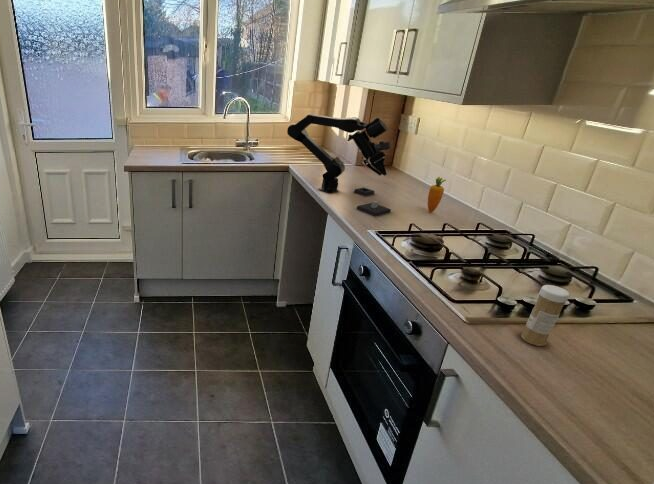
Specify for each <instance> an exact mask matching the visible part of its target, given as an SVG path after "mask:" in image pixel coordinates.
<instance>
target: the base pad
mask: <svg viewBox="0 0 654 484" xmlns="http://www.w3.org/2000/svg"><path fill="white" fill-rule="evenodd" d="M379 203H380V202H379V201H377V200H372V201H371V202H368V203H364V204H359V205H357V206H356V210H357V211H360V212H363V213H366V214H368V215H371V216H373V217H378V216H382V215H385V214H390V213H391V211H392V208H388V207H386V206H383V205H380V204H379Z"/></svg>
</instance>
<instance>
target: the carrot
mask: <svg viewBox="0 0 654 484" xmlns="http://www.w3.org/2000/svg"><path fill="white" fill-rule="evenodd" d="M446 181H447V180H446V179H443V177H440V176H437V178H435V184H433V185H431V186H430V187H429V191H428V195H427V210H428V213H430V214H432V213H434V211H435V210H436V209H437V208H438V206H439V204H440V203H441V202H442V198H443V195H444V192H445V188H444V187H443V186H442V184H443V183H444V182H446Z"/></svg>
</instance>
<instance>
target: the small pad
mask: <svg viewBox="0 0 654 484" xmlns="http://www.w3.org/2000/svg"><path fill="white" fill-rule="evenodd" d="M353 193H355V194H358V195H360V196H364V197H367V196H372V195H375V190H373V189H370V188H367V187H363V186H362V187H359V188H354V191H353Z"/></svg>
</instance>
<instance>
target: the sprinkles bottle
mask: <svg viewBox="0 0 654 484" xmlns="http://www.w3.org/2000/svg"><path fill="white" fill-rule="evenodd" d="M538 294H539V295H538V297H537V300H536V302H535V305H534V307H532V310H531V313H530V315H529V317H528V319H527V321H526V323H525V324H526V325H525V326H524V329H523V332H521V334H520V337H521V339H522V340H523V341H524V342H526V343H528V344H530V345H532V346H533V345H534V346H537V347H544V346H545V345H547V341H548V339H549V336H550V335H551V333H552V331H553V330H554V327H555V325H556V323H557V321H558V319H559V317H560V315H561V312H562V309H563V308H564V305H565V304H566V303H567V302H568V300H569V297H570V292H569V291H568V290H567V289H565V288H562V287H561V286H557V285H553V284H545V285H542V286H541V288H540V290H539V293H538Z"/></svg>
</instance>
